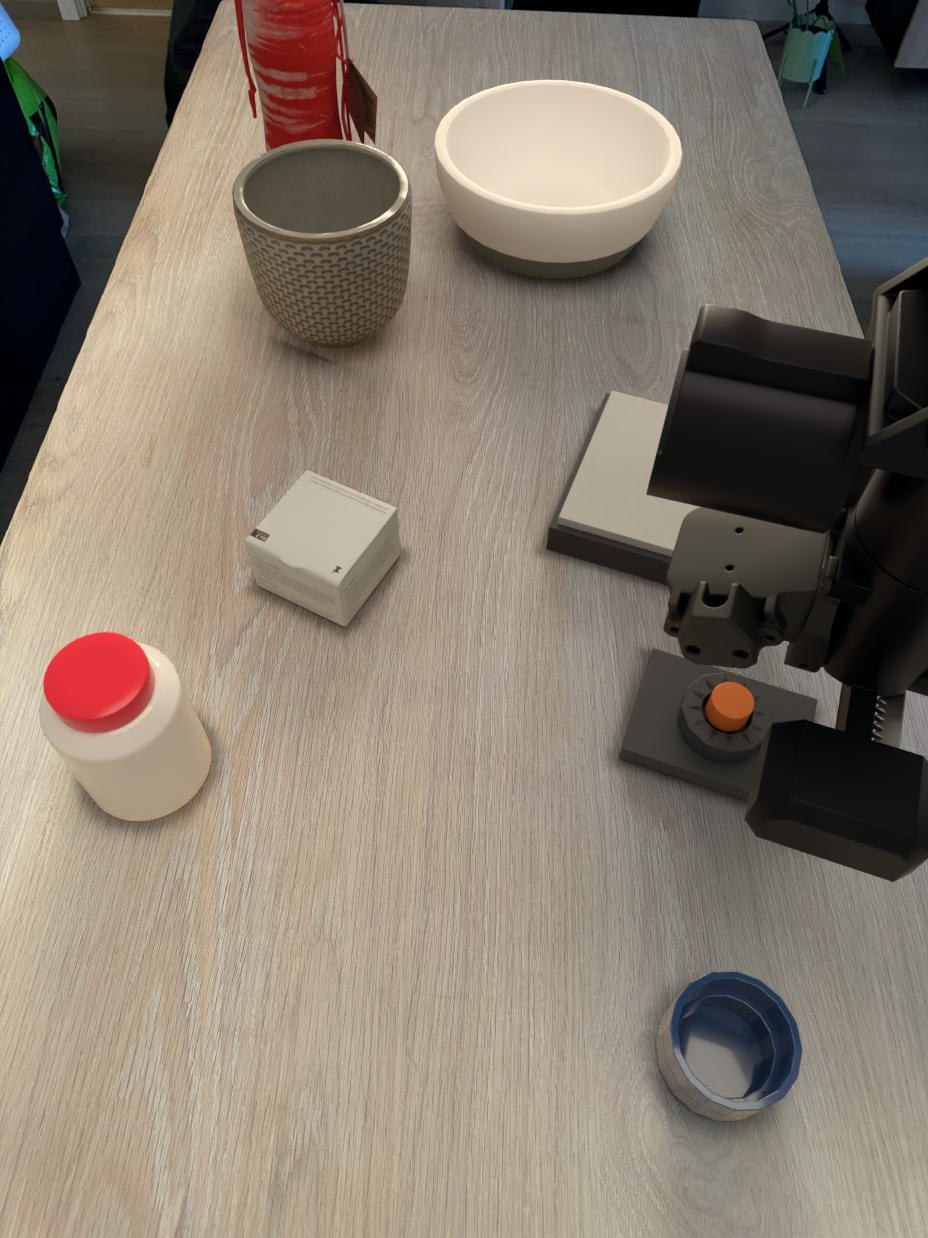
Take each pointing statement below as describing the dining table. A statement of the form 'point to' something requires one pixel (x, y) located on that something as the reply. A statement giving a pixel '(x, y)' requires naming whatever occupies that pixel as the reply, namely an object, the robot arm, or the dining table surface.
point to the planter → (326, 237)
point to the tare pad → (702, 724)
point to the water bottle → (302, 71)
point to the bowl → (555, 174)
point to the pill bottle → (124, 726)
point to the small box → (325, 547)
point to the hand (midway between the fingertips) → (801, 738)
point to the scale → (619, 494)
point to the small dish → (728, 1046)
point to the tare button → (729, 706)
